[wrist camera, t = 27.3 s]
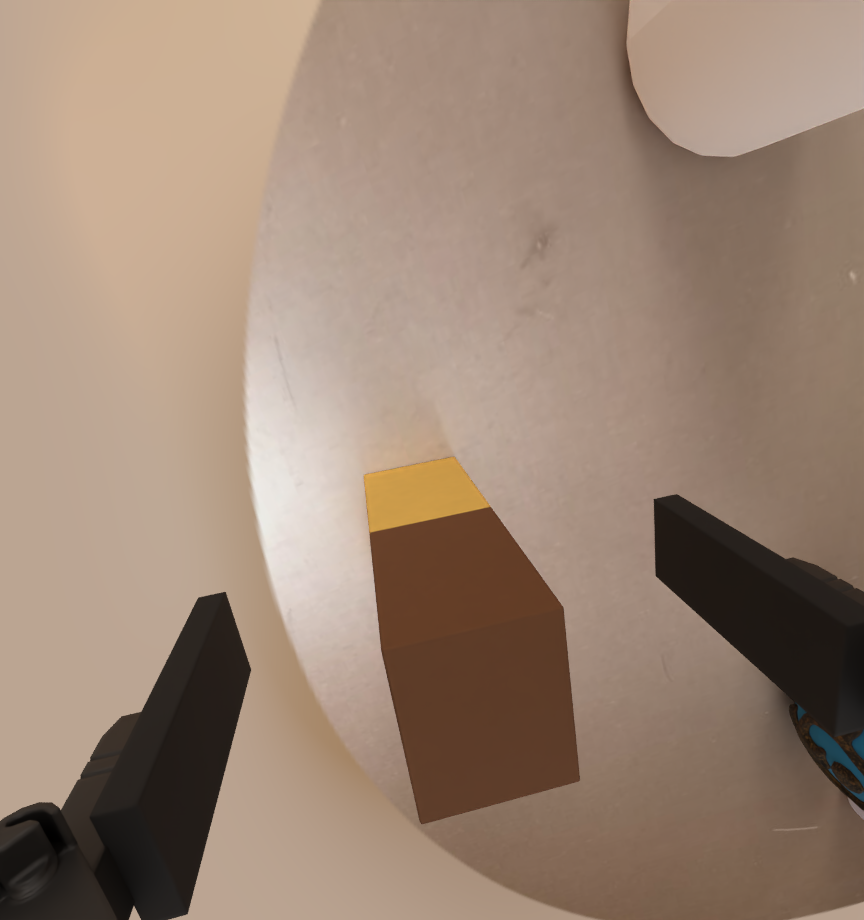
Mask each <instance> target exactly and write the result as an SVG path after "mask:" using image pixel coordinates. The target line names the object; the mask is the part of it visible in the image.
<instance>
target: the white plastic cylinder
mask: <svg viewBox="0 0 864 920" xmlns="http://www.w3.org/2000/svg"><path fill="white" fill-rule="evenodd" d="M626 46H627V52H628V58H629V64H630V70H631V75H632V81H633V86H634V88H635V90H636V92H637V95H638V97H639V99H640V101H641V103H642V105H643V107H644V109H645V111H646V113H647V115H648V117H649V119H650V120H651V121H652V122H653V123H654V124H655V125H656V126H657V127H658V128H659V129H660V130H661V131H662V132H663V133H664V134H665V135H666V136H667V137H668V138H669V139H670V140H671V141H672V142H673V143H674V144H677V145H679V146H681V147H683V148H685V149H688V150H690V151H692V152H694V153H696V154H698V155H701V156H724V157H736V156H739V155H742V154H745V153H747V152H750V151H753V150H756V149H759V148H762V147H765V146H767V145H770V144H773V143H775V142H778V141H780V140H783V139H786V138H788V137H791V136H794V135H796V134H799V133H801V132H804V131H807V130H809V129H812V128H814V127H817V126H820V125H822V124H825V123H827V122H830V121H833V120H835V119H838V118H840V117H843V116H846V115H848V114H851V113H854V112H856V111H859V110H861V109H864V0H630V5H629V17H628V30H627V42H626Z"/></svg>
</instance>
